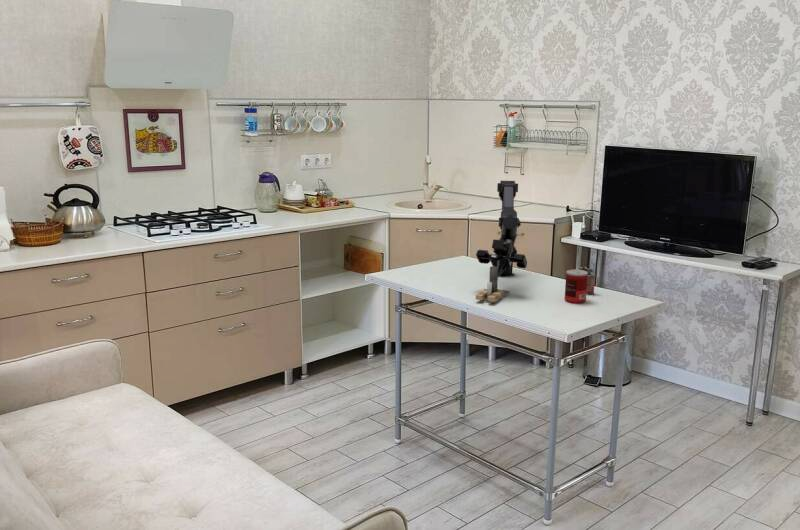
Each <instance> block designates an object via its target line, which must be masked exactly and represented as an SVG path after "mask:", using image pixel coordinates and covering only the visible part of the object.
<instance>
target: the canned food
mask: <svg viewBox="0 0 800 530" xmlns="http://www.w3.org/2000/svg"><path fill="white" fill-rule="evenodd" d="M588 273H589V272H586V271H584V270H579V269H569V270H568V269H567V270H566V273H565V283H564V284H565V285H564V286H565V288H564V301H565V302H567V303H570V304H577V305H578V304H579V305H580V304H584V303H585V302H586V300H587V295H586V293H587V280H588Z"/></svg>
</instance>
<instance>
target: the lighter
mask: <svg viewBox="0 0 800 530" xmlns="http://www.w3.org/2000/svg"><path fill="white" fill-rule="evenodd" d="M578 270H584V271H586V272H588V280H587V293H586V296H594V295H595V284H596V283H595V282H596V276H597V275H596V274H594V273H595V269H594V268H588V267H586V266H584V267H582V266H580V267H578Z"/></svg>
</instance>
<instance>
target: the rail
mask: <svg viewBox="0 0 800 530" xmlns="http://www.w3.org/2000/svg"><path fill="white" fill-rule="evenodd" d="M486 283H487V286H486V289H487V297H486V298H484V299H483V300H479V302H482V301H486V302H485V303H489V302H491V301H488V297H489V296H490V295H491V290H492V283H491V282H486ZM497 290H498V291H503V296H502V297H500V298H499V299H497V300H496V301H495V302H492V303H491V304H497V303H498V302H499V301H500V299H501V300H502V299H503V298H505V297H506V296H508V295H509V294H510V290H506V289H499V288H497ZM507 294H508V295H507Z"/></svg>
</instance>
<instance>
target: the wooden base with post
mask: <svg viewBox="0 0 800 530" xmlns="http://www.w3.org/2000/svg"><path fill="white" fill-rule="evenodd" d="M498 278H499V277H498V267H496V266H492V265H491V266H490V267H489V279H488V280H489V282H491V283H492V290H491V295H490V296H489V297H488V301H491V302H495V301H496V300H497V299H499V298H500V297H502V296H503V291H498V290H497V289H498V284H499V283H498ZM486 297H487V288H484V289H483V290H482V291H480V292H478V293H477V294H475V300H476V301H477V300H479V301H480V300H483V299H484V298H486Z"/></svg>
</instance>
